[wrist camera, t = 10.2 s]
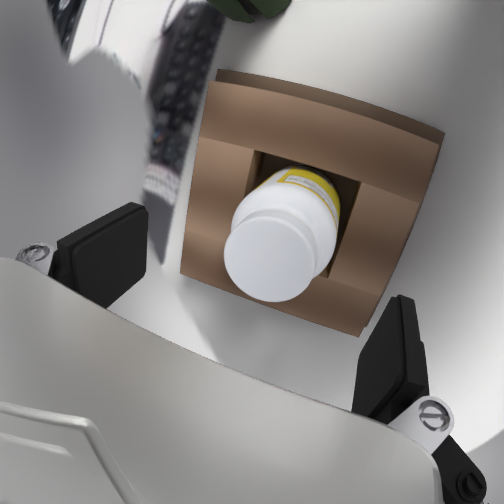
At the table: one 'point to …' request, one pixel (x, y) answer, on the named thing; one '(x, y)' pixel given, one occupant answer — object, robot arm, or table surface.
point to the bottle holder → (327, 160)
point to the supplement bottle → (283, 233)
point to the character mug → (248, 8)
